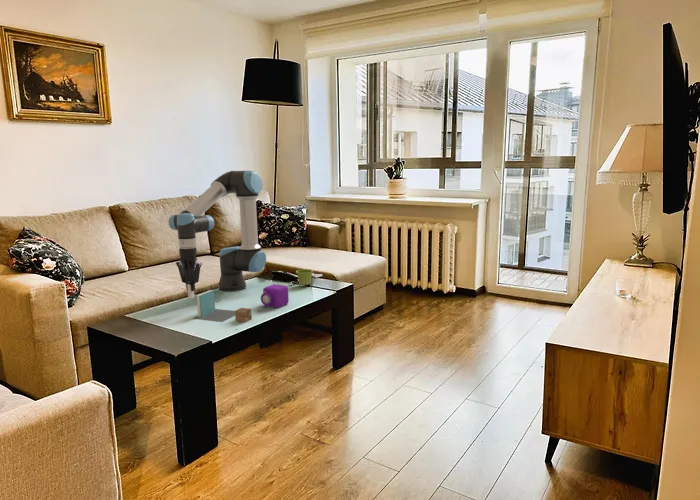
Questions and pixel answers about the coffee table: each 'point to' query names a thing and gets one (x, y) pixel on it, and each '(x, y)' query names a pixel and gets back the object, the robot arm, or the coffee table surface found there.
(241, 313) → the block
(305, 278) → the plant pot
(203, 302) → the tile
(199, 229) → the robot arm
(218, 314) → the mat
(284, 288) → the toy camera
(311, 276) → the paint knife
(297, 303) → the coffee table surface
